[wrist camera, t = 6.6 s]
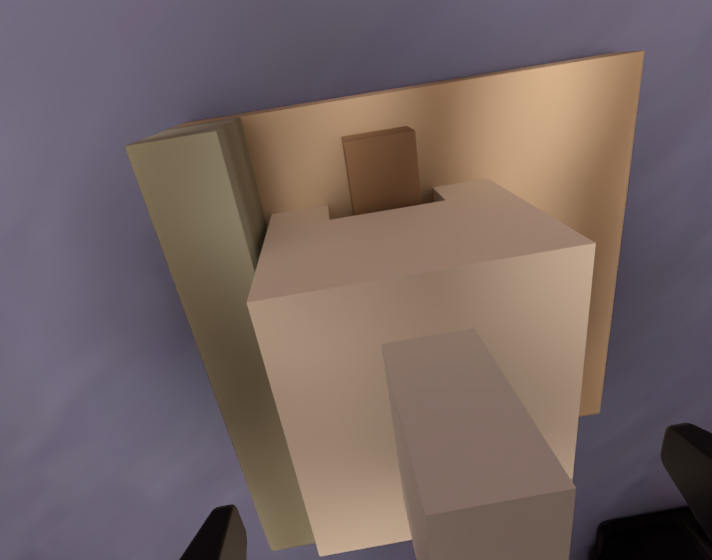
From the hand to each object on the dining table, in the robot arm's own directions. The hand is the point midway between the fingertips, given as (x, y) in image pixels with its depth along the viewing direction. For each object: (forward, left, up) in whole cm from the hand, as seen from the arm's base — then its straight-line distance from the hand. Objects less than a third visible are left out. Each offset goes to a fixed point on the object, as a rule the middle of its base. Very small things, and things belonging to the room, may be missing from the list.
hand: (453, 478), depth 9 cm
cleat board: (-1, 0, -9) cm, 9 cm away
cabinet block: (0, 0, -8) cm, 8 cm away
